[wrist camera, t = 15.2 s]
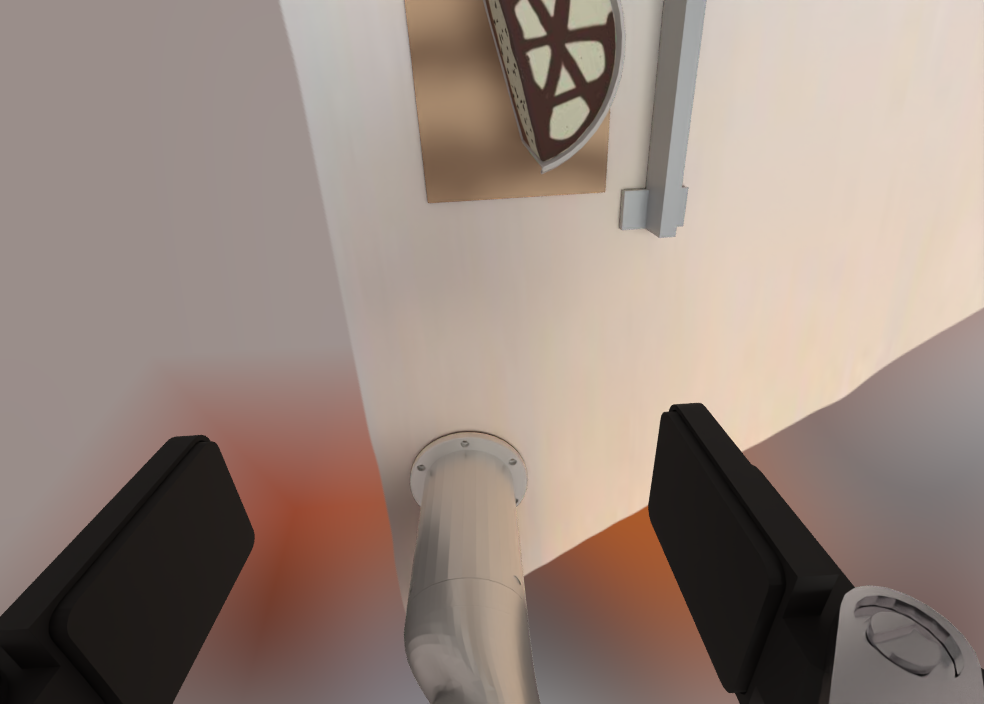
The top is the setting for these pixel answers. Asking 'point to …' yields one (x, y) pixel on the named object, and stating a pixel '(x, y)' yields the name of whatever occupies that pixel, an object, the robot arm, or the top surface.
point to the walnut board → (480, 114)
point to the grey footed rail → (669, 124)
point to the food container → (558, 69)
